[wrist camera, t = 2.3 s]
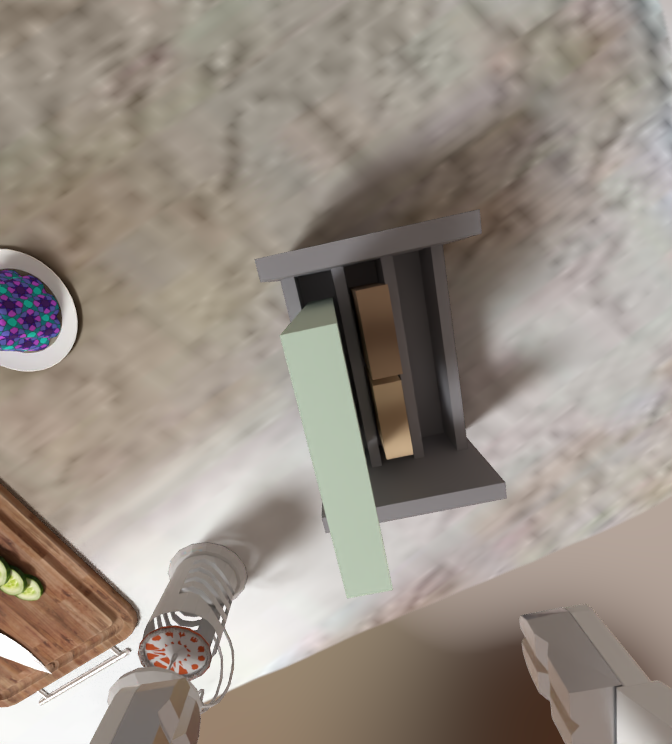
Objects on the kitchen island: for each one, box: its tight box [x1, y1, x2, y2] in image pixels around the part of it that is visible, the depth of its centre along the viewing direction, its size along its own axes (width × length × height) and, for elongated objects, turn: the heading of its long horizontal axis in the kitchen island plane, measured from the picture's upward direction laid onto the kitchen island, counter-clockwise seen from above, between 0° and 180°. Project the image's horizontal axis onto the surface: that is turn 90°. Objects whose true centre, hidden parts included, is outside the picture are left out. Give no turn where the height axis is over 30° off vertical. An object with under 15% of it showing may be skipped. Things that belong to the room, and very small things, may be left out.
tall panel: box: [280, 297, 393, 598], centre depth 26 cm, size 14×2×20 cm, turn 12°
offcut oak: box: [365, 367, 413, 460], centre depth 33 cm, size 7×2×6 cm, turn 12°
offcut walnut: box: [350, 283, 403, 380], centre depth 30 cm, size 7×2×8 cm, turn 12°
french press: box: [107, 543, 247, 714], centre depth 32 cm, size 10×12×25 cm
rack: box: [255, 209, 507, 533], centre depth 31 cm, size 22×15×12 cm
